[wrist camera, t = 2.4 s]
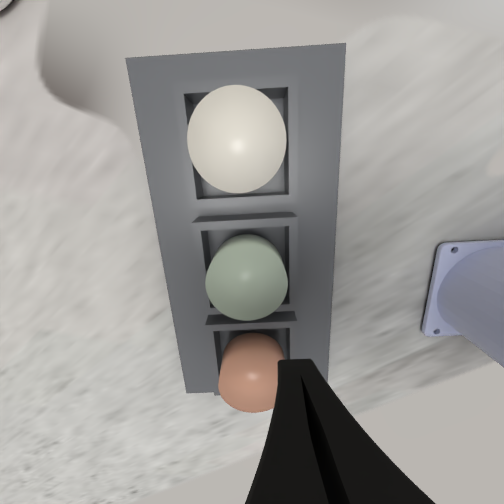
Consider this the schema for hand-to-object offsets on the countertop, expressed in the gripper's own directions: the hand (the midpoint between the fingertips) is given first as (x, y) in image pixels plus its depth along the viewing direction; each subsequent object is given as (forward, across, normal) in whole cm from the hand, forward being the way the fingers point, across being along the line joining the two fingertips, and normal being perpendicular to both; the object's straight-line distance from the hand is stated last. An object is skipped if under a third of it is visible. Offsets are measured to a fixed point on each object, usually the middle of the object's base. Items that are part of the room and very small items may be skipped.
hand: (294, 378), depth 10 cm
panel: (+10, +2, -2) cm, 10 cm away
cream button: (+6, +2, -9) cm, 11 cm away
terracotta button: (+6, +2, +5) cm, 8 cm away
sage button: (+6, +2, -2) cm, 7 cm away
